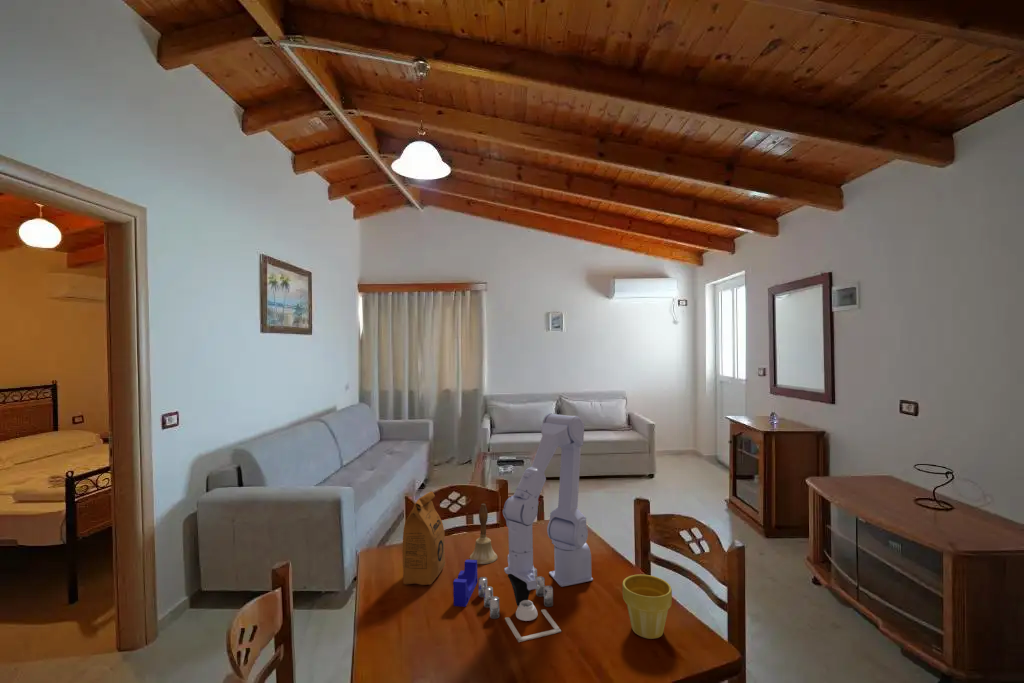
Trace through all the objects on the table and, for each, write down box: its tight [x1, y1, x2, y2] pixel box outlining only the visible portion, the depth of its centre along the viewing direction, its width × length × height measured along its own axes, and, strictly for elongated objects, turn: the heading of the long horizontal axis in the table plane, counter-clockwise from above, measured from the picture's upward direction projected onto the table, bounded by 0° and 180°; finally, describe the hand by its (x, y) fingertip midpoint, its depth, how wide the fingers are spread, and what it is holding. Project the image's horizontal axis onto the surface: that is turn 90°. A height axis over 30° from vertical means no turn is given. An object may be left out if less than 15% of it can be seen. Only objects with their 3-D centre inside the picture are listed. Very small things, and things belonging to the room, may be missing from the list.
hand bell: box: [469, 503, 498, 565], centre depth 140 cm, size 8×8×16 cm
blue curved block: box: [452, 559, 478, 608], centre depth 120 cm, size 12×4×6 cm, turn 171°
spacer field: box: [477, 567, 554, 620], centre depth 116 cm, size 16×12×4 cm
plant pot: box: [622, 574, 673, 640], centre depth 103 cm, size 10×10×10 cm
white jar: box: [515, 599, 538, 622], centre depth 109 cm, size 5×3×5 cm
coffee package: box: [401, 490, 446, 586], centre depth 129 cm, size 10×12×22 cm
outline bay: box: [504, 608, 562, 643], centre depth 105 cm, size 10×9×1 cm
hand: (521, 605), depth 112 cm, fingers closed
